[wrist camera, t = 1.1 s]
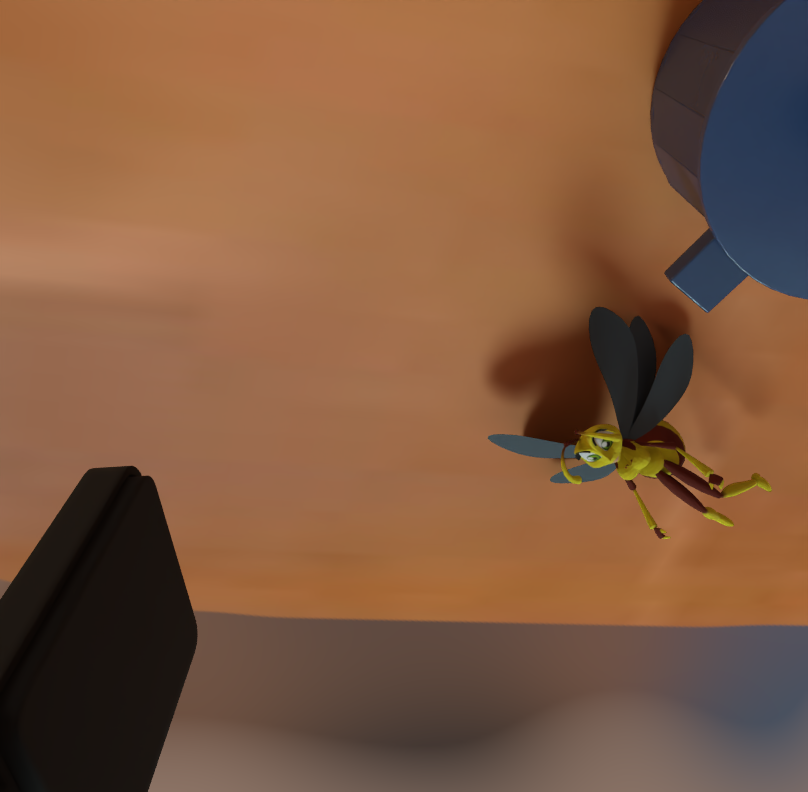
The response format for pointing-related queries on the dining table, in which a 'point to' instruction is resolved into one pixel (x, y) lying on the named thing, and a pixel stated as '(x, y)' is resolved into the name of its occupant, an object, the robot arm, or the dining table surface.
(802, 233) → the pot lid
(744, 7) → the pot
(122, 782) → the robot arm
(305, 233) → the dining table surface
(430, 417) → the dining table surface
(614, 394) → the toy
